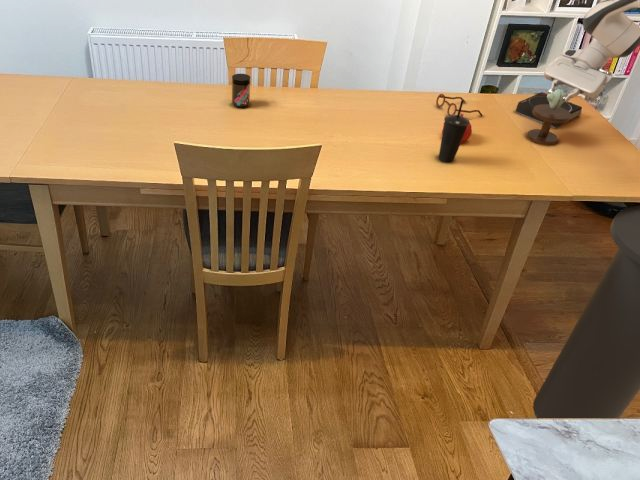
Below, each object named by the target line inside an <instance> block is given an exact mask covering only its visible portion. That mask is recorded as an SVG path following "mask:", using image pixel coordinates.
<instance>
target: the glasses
mask: <svg viewBox="0 0 640 480" xmlns="http://www.w3.org/2000/svg"><path fill="white" fill-rule="evenodd" d="M439 98H441V99H443V100H442V103H441V104H439ZM446 99H448V100H458V99H459V100H464V101H463V103H466V101H465V99H464V98H463V97H462V96H454V97H453V96H446V95H444V94H443V93H440V94H439V95H438V96H437V98H436V101H435V104H436V106H437V108H442V107H443V106H444V104H447V106H448V107H447V112H446V113H447V116H448V115H456V113H457V112H458V111H459V108H458V107H457V104H456V103H455V102H451V103H450V102H449V101H448V100H446ZM452 106H453V107H454V110H453V113H452V114H450V110H451V109H450V108H451V107H452ZM460 113H467V114H471V113H478V114H479V115H480V117H483V114H482V112H481V111H480V109H472V110H465V109H461V112H460Z"/></svg>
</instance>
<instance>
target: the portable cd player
mask: <svg viewBox="0 0 640 480" xmlns="http://www.w3.org/2000/svg"><path fill="white" fill-rule="evenodd" d="M547 95H548V93H545V92H543V91H542V92H541V91H540V92H539V93H537V94H534V95H532V96H530V97H526V98H525V99H523V100H520V101H518V103H517V105H516V108H515V111H514V113H515V114H519V115H521V116H523V117H526V118H528V119H530V120H533V121H536V122H538V123H541V124H543V122H544V121H543V120H541V119H539V118H537V117H535V116H534V115H533V113H532V111H533V109H534V107H535V106H537V105H541V104H548V105H550V104H549V101H548V99H547ZM560 107H561V108H564V109H566V110H567V111H569V112H570V114H571V117H570V119H569V121H568V122H565V123H552V125H551V128H554V129H557V128H559V127H561V126H563V125H565V124H566V123H569V122H570V121H571V122H572V121H573V120H575V119H577V118H579V117H580V116H581V114H582V109H583V107H582V106H581V105H578V104H575V103H572V102H570V101H568V102H564V103H563V104H562V105H561V106H560Z"/></svg>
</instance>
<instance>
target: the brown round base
mask: <svg viewBox="0 0 640 480" xmlns="http://www.w3.org/2000/svg"><path fill="white" fill-rule="evenodd" d="M532 113H533V115H534V116H535V117H537V118H539V119H541V120H543V121H544V122H543V123H542V125H541V128H533V129H530V130H529V131H528V132H527V133H526V139H528V140H529V141H530V142H532V143H534V144H537V145H540V146H554V145H555V144H557V143H558V140H559V137H558V135H556V133H554V132H552V131H550V130H551V128H552V127H551V125H552V123H565V122H567V123H569V122H570V121H569V119H570V117H571V114H570V112H569V111H567V110H566V109H564V108H561V107H559V108H558V109H554V110H553V109H552V108H551V107H550V105H548V104H541V105H537V106H535V107H534V109H533V111H532ZM568 121H569V122H568ZM565 124H566V123H565Z"/></svg>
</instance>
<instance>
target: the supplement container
mask: <svg viewBox="0 0 640 480" xmlns="http://www.w3.org/2000/svg"><path fill="white" fill-rule="evenodd" d="M250 100H251V75H249V74H246V73H235V74H232V76H231V105H232V106H233V107H235V108H238V109H244V108H248V107H249V106H250Z"/></svg>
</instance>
